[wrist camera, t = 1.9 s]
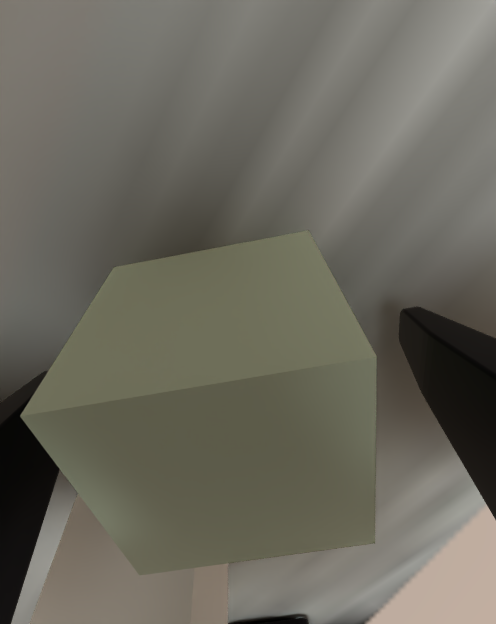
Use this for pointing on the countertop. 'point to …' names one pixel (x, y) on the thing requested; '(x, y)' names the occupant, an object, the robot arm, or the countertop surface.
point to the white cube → (123, 584)
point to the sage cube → (217, 408)
